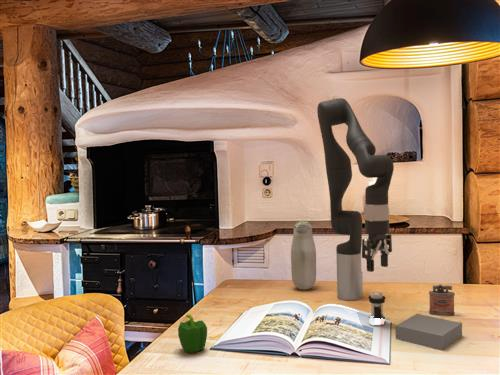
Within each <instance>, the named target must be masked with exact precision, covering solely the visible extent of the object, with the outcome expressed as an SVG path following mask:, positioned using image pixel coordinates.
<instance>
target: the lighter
mask: <svg viewBox="0 0 500 375" xmlns="http://www.w3.org/2000/svg"><path fill="white" fill-rule="evenodd" d="M428 295H429V310H428V314H429V315H432V316H440V317H454V316H455V315H456V314H455V313H456V312H455V296H456V295H455V292H453V286H452V285H449V284H448V285H442V283H439V284H437V285H436V284H435V285H433V284H432V290H429V291H428Z"/></svg>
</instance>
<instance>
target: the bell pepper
mask: <svg viewBox="0 0 500 375" xmlns="http://www.w3.org/2000/svg"><path fill="white" fill-rule="evenodd" d="M185 317H186V318H188V320H186V321H185V322H183V321H181V322H179V326H178V328H177V332H178V339H179V342H180V345H181V348H182V349H183V351H184V352H185V353H189V354H195V353H199V351H202V350H204V349H205V346H206V343H207V337H208V327H207V325H206V323H205V322H204V320H197V321H194V317H193V316H192V315H191V314H189V313H188V314H186V315H185Z"/></svg>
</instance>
